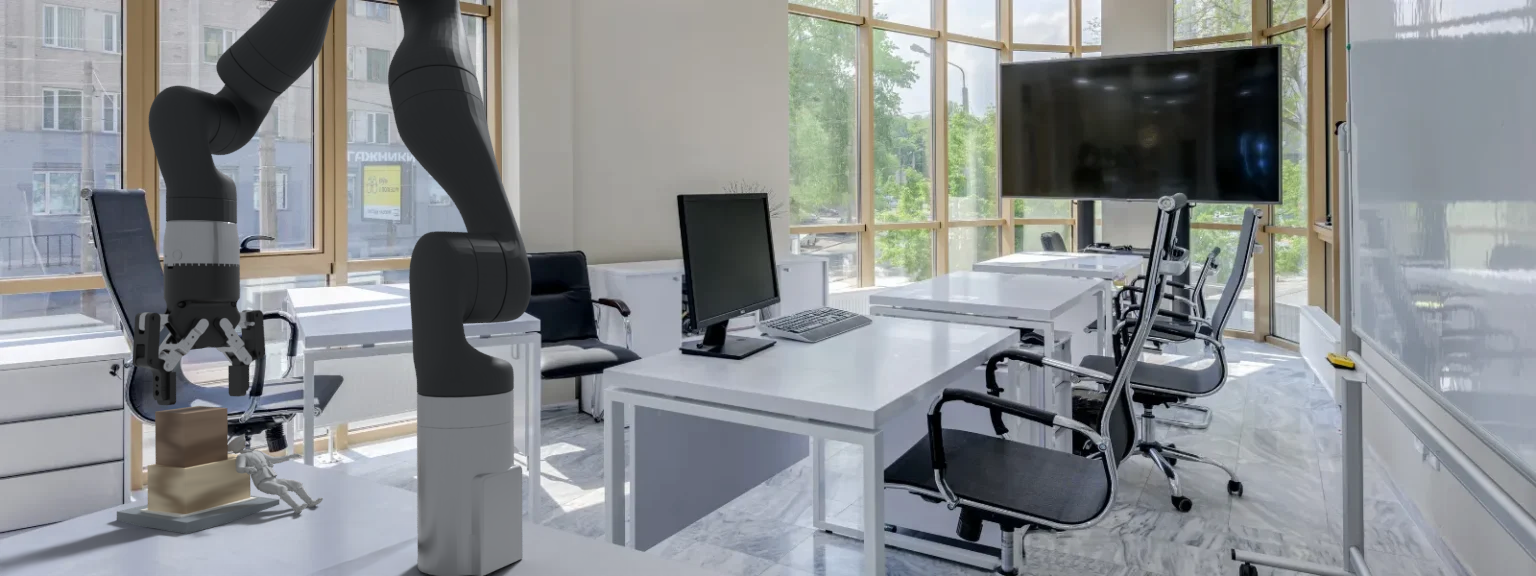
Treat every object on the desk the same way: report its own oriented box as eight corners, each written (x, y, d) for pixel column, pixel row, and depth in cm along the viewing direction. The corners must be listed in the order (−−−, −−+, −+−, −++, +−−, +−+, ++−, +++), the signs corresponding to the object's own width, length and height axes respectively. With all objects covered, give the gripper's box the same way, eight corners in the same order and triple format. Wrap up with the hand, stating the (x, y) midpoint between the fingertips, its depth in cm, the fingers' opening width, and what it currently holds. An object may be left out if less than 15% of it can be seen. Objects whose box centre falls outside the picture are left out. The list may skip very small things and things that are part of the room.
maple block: (250, 497, 104) (250, 455, 104) (186, 514, 97) (185, 469, 97) (213, 493, 106) (213, 452, 106) (147, 509, 99) (147, 465, 99)
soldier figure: (286, 513, 98) (229, 426, 99) (257, 537, 99) (200, 451, 100) (334, 495, 105) (280, 415, 107) (307, 518, 106) (253, 438, 108)
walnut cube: (227, 459, 102) (227, 408, 102) (184, 467, 97) (184, 413, 97) (199, 456, 104) (198, 405, 104) (155, 464, 99) (155, 411, 99)
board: (279, 509, 104) (279, 497, 104) (186, 533, 94) (186, 520, 94) (211, 500, 109) (211, 488, 109) (116, 522, 99) (116, 509, 99)
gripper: (236, 264, 111) (237, 392, 110) (116, 260, 97) (117, 406, 97) (279, 262, 108) (280, 394, 108) (162, 258, 95) (162, 409, 94)
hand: (203, 400), depth 102 cm, fingers open, 8 cm apart
